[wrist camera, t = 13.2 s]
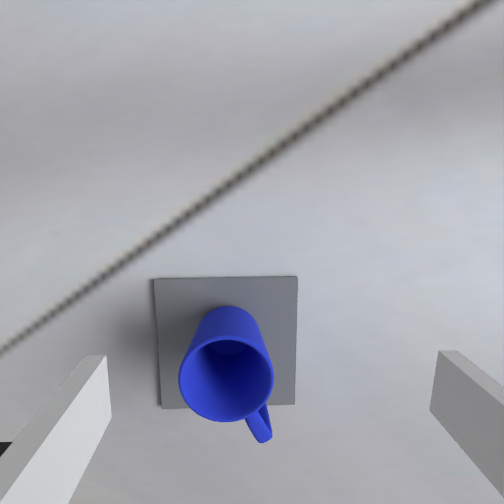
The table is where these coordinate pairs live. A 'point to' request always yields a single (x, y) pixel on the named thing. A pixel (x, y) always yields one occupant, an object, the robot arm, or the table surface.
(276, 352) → the coaster
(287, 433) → the table surface
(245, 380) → the mug
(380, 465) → the table surface
